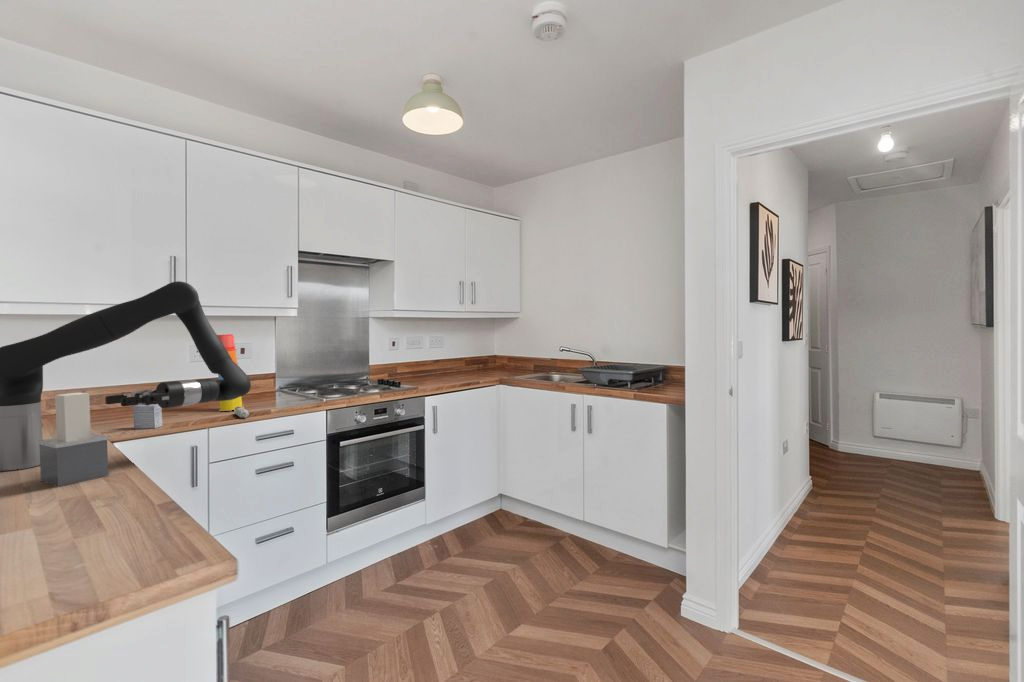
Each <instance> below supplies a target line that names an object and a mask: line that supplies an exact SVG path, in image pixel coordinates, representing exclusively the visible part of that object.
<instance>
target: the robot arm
mask: <svg viewBox="0 0 1024 682" xmlns="http://www.w3.org/2000/svg"><path fill="white" fill-rule="evenodd" d="M199 298H200V297H199V293H198V291H197V290H196V288H194V286H192V285H191V284H190V283H188V282H185V281H181V280H179V281H178V280H177V281H172V282H169V283H167V284H165V285H163V286H162V287H160V288H159V287H158V288H157V289H155V290H153V291H151V292H149V293H147V294H145V295H143V296H141V297H138V298H135V299H132V300H129V301H125V302H122V303H118V304H114V305H113V306H109V307H105V308H103V309H100V310H97V311H95V312H92V313H90V314H86V315H84V316H82V317H79V318H77V319H75V320H72V321H71V322H68V323H66V324H63V325H61V326H59V327H57V328H55V329H53V330H51V331H49V332H46V333H44V334H42V335H38V336H35V337H31V338H29V339H25V340H22V341H19V342H14V343H12V344H7V345H3V346H2V345H1V346H0V472H3V471H4V472H5V471H15V470H16V471H17V469H18V470H23V469H29V468H33V467H38V466H40V448H39V444H38V441H39V440H44V438H43V436H44V435H43V420H42V419H43V416H42V415H43V414H42V393H43V389H44V366H45V365H47V364H50V363H52V362H53V361H56V360H59V359H61V358H64V357H68V356H72V355H75V354H79V353H83V352H86V351H90V350H93V349H95V348H99V347H102V346H105V345H108V344H110V343H112V342H115V341H117V340H120V339H121V338H124V337H126V336H128V335H130V334H132V333H134V332H135V331H137V330H138V329H140V328H143V326H146V324H148V323H151V322H153V321H155V320H157V319H161V318H163V317H167V316H170V315H173V314H175V315H176V316H177V317H178V319H179V320H180V321H181V322H182V324H183V325H184V327H185V328H186V329H187V332H188V333H189V336H190V337H191V339H192V341H193V343H194V345H195V347H196V349H197V352H198V353H199V355H200V357H201V358H202V360H203V362H204V363H205V365H206V367H207V368H208V370H209V372H210V373H212V374H213V375H218V374H219V375H221V377H222V378H223V379H222V380H219V379H216V380H215V379H213V378H202V379H201V378H199V379H184V380H173V381H172V380H171V381H170V380H169V381H162V382H160V383H158V384H157V386H156V389H152V388H151V389H149V388H148V389H144V390H134V391H129V392H122V393H120V394H112V395H107V396H105V397H104V399H105V400H104V401H105V404H106V405H114V404H115V405H116V404H120V406H121V407H129V406H137V405H155V404H158V405H159V406H160V407H161V409H165V410H166V409H171V408H172V409H173V408H180V407H186V406H192V405H195V404H201V403H202V404H203V403H209V402H220V401H227V400H232V399H235V398H238V397H240V396H241V397H243V396H245V395H247V394H249V392H250V391H251V389H252V388H251V386H252V385H251V380H250V377H249V376H248V374H247V373H246V372H245V371H244V370H243V369H242V368H241V367H240V366H239V364H236V363H235V362H234V361H233V360H232V358H231V357H230V355H229V353H228V352H227V350H226V348H225V346H224V345H223V343H222V342H221V340H220V339H219V337H218V336H217V335H218V334H217V332H215V330H214V328H213V327H212V325H211V324H210V322H209V320H208V319H207V316H206V314H205V313H204V309H203V307H202V304H201V302H200V299H199Z"/></svg>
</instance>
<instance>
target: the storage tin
mask: <svg viewBox="0 0 1024 682" xmlns="http://www.w3.org/2000/svg"><path fill="white" fill-rule="evenodd" d="M108 440H109V436H108V435H104V434H99V433H93V432H91V437H89V438H83V439H77V440H71V441H62V440H57V437H53V438H51V437H50V438H46V439H43V440H39V441H38V444H39V448H40V465H39V466H40V467H39V468H40V471H39V472H40V481H41V480H42V481H44V482H43V483H45V482H47V483H46V484H48V483H50V484H49V485H51V484H53V485H52V486H54V485H56V486H55V487H57V486H60V487H64V486H67V485H68V484H69V485H72V483H73V484H77V483H81V482H86V481H90V479H91V480H94V479H93V478H96V479H98V478H97V477H100V478H103V477H102V476H105V477H107V476H106V475H108V476H109V458H108V457H109V454H108ZM42 481H41V482H42ZM63 485H64V486H63Z"/></svg>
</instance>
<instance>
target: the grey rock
mask: <svg viewBox="0 0 1024 682" xmlns="http://www.w3.org/2000/svg"><path fill="white" fill-rule="evenodd" d="M242 407H243V406H242ZM242 407H236V408H235V409H234V411H233V412H234V414H235V415H236V416H238V417H239V418H240V419H247V418H248V417H249V415H250V414H251V413H249V411H248V410H247V409H245V407H244V408H242Z"/></svg>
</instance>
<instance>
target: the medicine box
mask: <svg viewBox="0 0 1024 682" xmlns="http://www.w3.org/2000/svg"><path fill="white" fill-rule="evenodd" d="M162 409H163V408H161V407H160V406H159V405H158V404H155V405H139V404H138V405H133V406H132V412H133V413H132V414H133V415H132V416H133V428H134V430H138V429H140V430H142V429H144V430H145V429H147V430H149V429H157V428H160V427H163V412H162Z"/></svg>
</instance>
